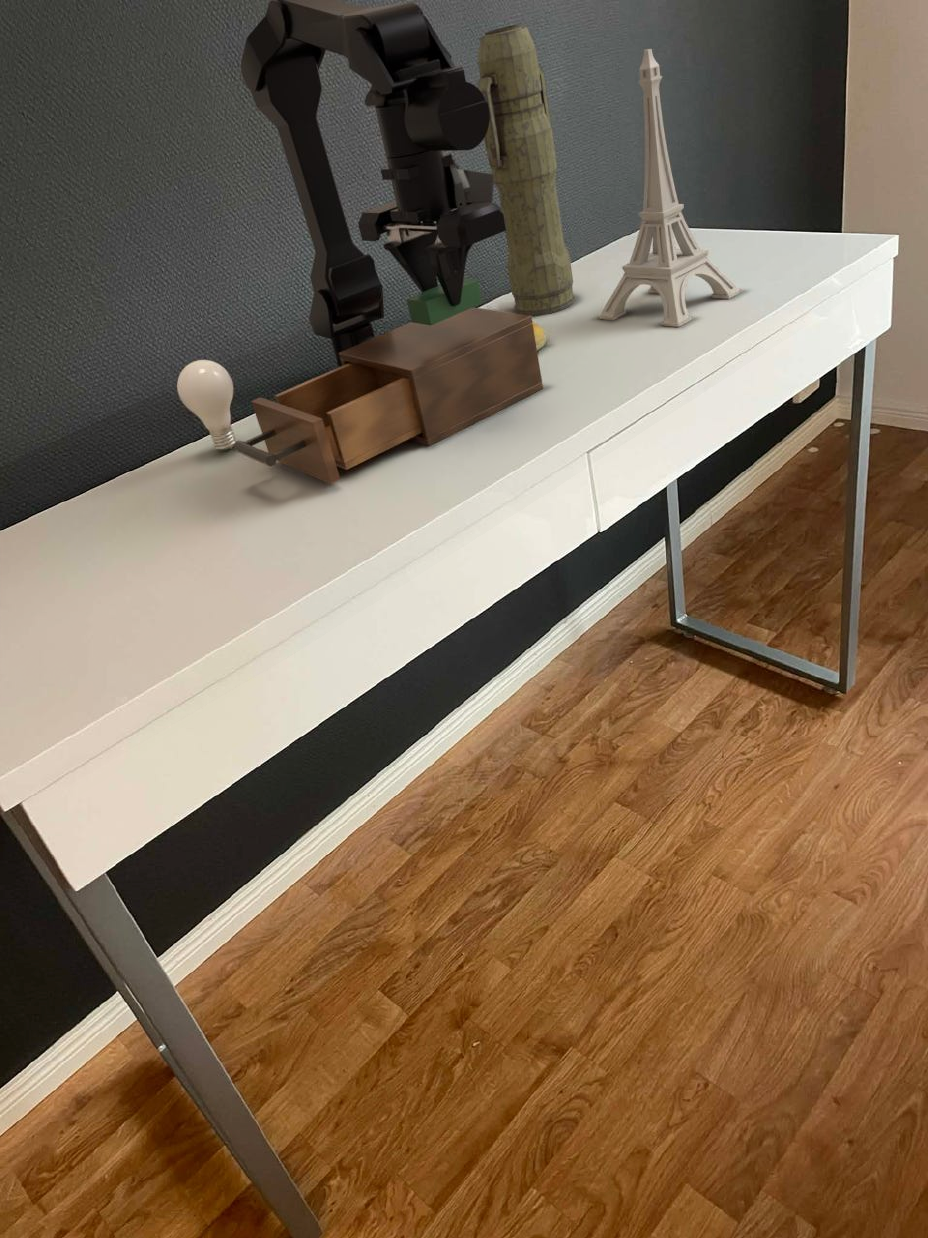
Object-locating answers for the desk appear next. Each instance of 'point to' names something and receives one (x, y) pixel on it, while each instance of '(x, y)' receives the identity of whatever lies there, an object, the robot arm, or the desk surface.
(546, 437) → the desk surface
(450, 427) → the cabinet
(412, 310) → the dark green foam brick
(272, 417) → the drawer
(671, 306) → the eiffel tower
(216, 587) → the desk surface
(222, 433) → the lightbulb
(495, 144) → the thermos
